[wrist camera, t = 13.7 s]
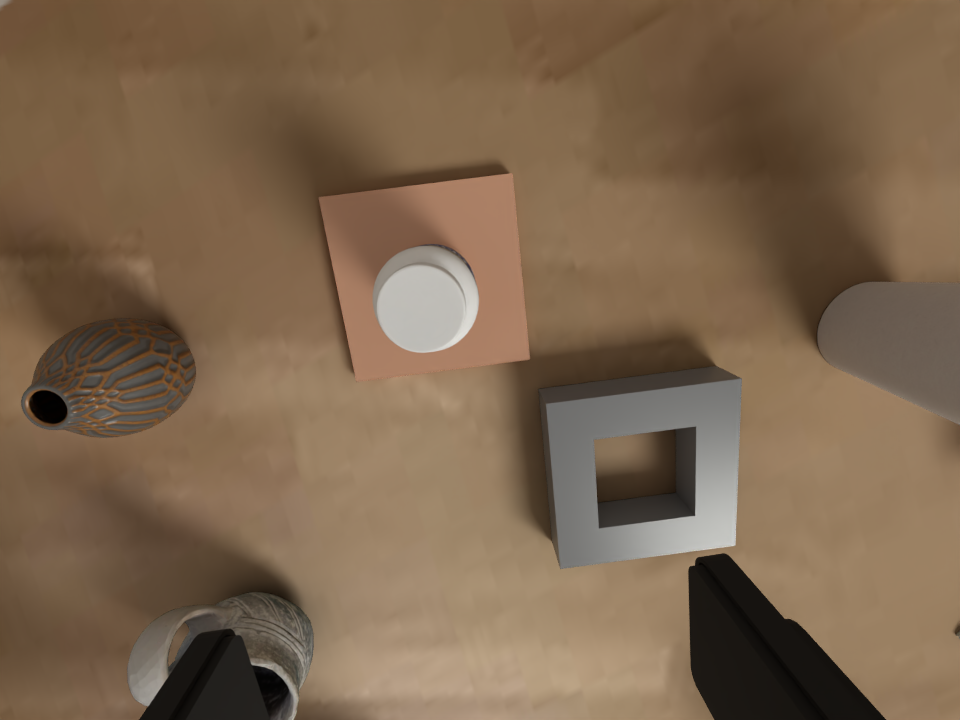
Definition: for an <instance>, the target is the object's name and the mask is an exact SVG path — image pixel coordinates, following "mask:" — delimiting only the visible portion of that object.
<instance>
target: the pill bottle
mask: <svg viewBox="0 0 960 720" xmlns="http://www.w3.org/2000/svg"><path fill="white" fill-rule="evenodd" d="M478 307H479V292H478V288H477V284H476V281H475V277H474V274H473V271H472V269H471V267H470V265H469V264H468V262H467V261H466V260H465V258H464V257H463V256H462V255H461V254H459V253H458V252H457V251H455V250H454V249H452V248H449V247H447V246H444V245H440V244H425V245H420V246H416V247H412V248H408V249H406V250H404V251H401V252H399V253H398V254H396V255H395V256H393V257H392V258H391V259H390V260H388V261H387V263H386V264H385V265H384V266H383V267H382V269H381V270H380V272H379V274H378V276H377V278H376V281H375V284H374V289H373V308H374V312H375V316H376V318H377V321H378V323H379V325H380V327H381V328H382V330H383V331H384V333H385V334H386V336H387V337H388V338H389V339H390V340H391V341H392V342H394V343H395V344H396V345H398V346H399V347H401V348H403V349H406V350H408V351H412V352H417V353H426V352H435V351H440V350H444V349H446V348H449V347H451V346H453V345H454V344H456V343H457V342H459V341H460V340H461V339H462V338H463V337H464V336H465V335H466V334H467V333H468V332H469V330H470V329H471V327H472V325H473V324H474V321H475V319H476V316H477V313H478Z"/></svg>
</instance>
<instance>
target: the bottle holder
mask: <svg viewBox="0 0 960 720" xmlns="http://www.w3.org/2000/svg"><path fill="white" fill-rule="evenodd" d="M741 386H742V379H741V378H739V377H737V376H735V375H733V374H731V373H729V372H727V371H725V370H723V369H721V368H719V367H717V366H713V367H705V368H697V369H690V370H682V371H674V372H666V373H659V374H651V375H643V376H635V377H628V378H620V379H612V380H604V381H596V382H589V383H581V384H573V385H565V386H558V387H550V388H542V389H538V391H539V402H540V413H541V424H542V435H543V446H544V457H545V468H546V479H547V490H548V502H549V513H550V524H551V535H552V543H553V546H554V550H555V553H556V556H557V560H558V563H559V566H560V569H563V568H571V567H578V566H586V565H593V564H601V563H608V562H616V561H623V560H631V559H638V558H646V557H653V556H661V555H669V554H676V553H684V552H691V551H699V550H706V549H714V548H721V547H729V546H735V539H736V513H737V488H738V462H739V437H740V411H741ZM672 429H676V493H670V494H662V495H655V496H647V497H640V498H632V499H624V500H617V501H609V502H602V503H597V488H596V470H595V452H594V440H595V439H603V438H610V437H618V436H626V435H633V434H641V433H649V432H656V431H664V430H672Z"/></svg>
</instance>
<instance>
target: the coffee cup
mask: <svg viewBox="0 0 960 720" xmlns="http://www.w3.org/2000/svg"><path fill="white" fill-rule="evenodd" d="M817 340H818V346H819V350H820V352H821V354H822V356H823V357H824V359H825V360H826V361H827V362H828V363H829V364H831V365H832V366H834V367H836V368H838V369H840V370H842V371H844V372H846V373H849V374H851V375H853V376H855V377H857V378H859V379H862V380H864V381H866V382H868V383H870V384H872V385H875V386H877V387H879V388H881V389H883V390H885V391H888V392H890V393H892V394H894V395H896V396H898V397H900V398H903V399H905V400H907V401H909V402H911V403H913V404H916V405H918V406H920V407H922V408H924V409H926V410H929V411H931V412H933V413H935V414H937V415H939V416H941V417H944V418H946V419H948V420H950V421H952V422H954V423H957V424H959V425H960V283H932V282H865V283H861V284H857V285H855V286H852V287H850V288H848V289H847V290H845V291H843V292H842V293H841V294H839V295H838V296H837V297H836V298H835V299H834V300H833V301H832V302H831V303H830V304H829V306H828V307H827V308H826V310H825V312H824V313H823V315H822V318H821V320H820V323H819V327H818V333H817Z"/></svg>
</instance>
